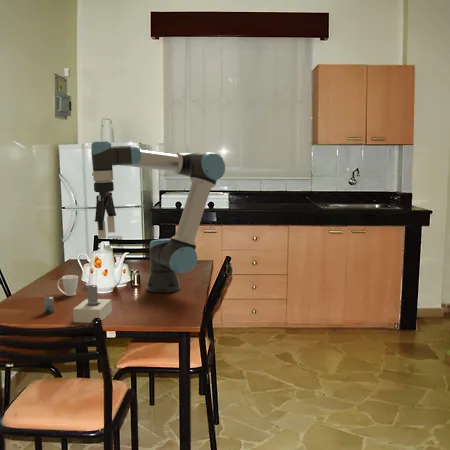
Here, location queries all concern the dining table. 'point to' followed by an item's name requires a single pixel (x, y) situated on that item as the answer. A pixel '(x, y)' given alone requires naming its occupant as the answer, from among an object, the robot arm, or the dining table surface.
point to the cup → (69, 284)
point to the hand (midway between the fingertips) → (107, 235)
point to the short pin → (48, 305)
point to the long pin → (92, 295)
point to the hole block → (92, 311)
